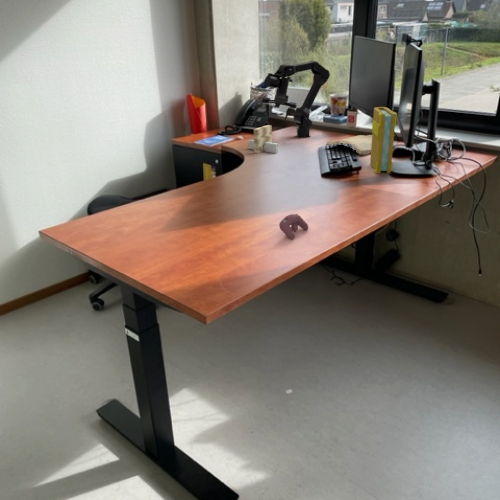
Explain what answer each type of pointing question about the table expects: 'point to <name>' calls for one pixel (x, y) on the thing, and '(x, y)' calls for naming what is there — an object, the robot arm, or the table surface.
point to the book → (382, 139)
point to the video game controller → (292, 225)
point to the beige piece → (357, 143)
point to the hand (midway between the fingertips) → (276, 119)
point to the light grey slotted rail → (266, 146)
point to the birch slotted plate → (262, 137)
